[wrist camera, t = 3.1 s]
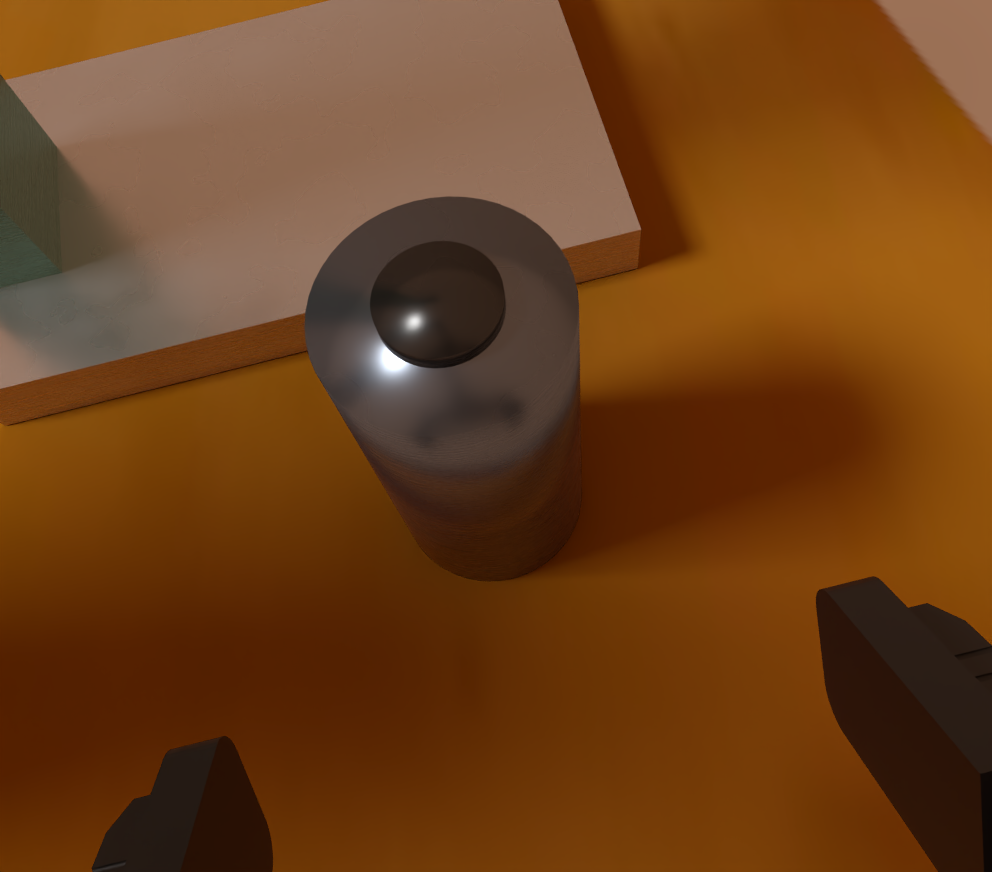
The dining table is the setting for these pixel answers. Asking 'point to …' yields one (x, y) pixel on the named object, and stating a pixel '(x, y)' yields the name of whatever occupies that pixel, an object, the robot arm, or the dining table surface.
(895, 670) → the robot arm
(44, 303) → the press
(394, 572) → the dining table surface
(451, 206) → the cylinder
